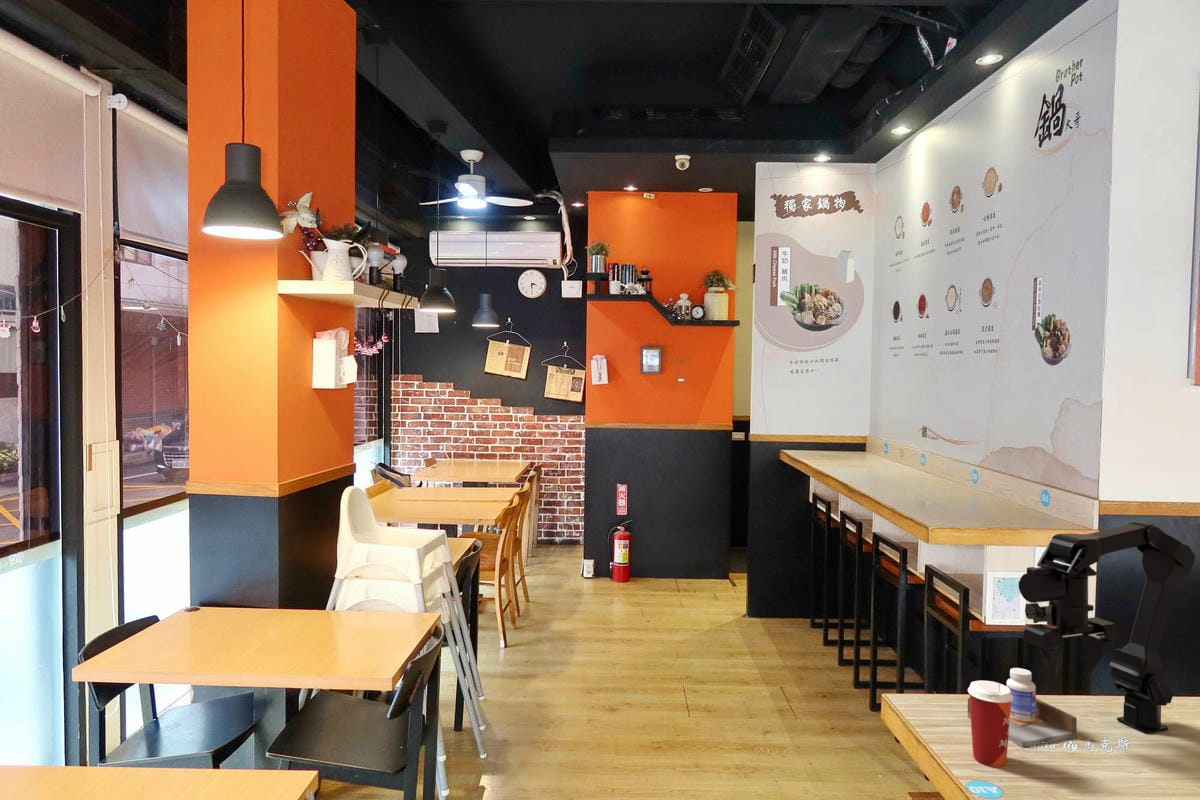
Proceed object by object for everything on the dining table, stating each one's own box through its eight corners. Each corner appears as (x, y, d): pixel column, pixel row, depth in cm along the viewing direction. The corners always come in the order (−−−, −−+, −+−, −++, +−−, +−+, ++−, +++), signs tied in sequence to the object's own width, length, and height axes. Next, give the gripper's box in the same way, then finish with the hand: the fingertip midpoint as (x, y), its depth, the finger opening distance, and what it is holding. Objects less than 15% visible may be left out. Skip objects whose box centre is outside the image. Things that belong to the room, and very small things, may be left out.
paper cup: (1018, 772, 137) (1019, 697, 137) (973, 768, 138) (974, 693, 138) (1004, 751, 145) (1005, 680, 144) (961, 747, 146) (962, 677, 146)
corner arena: (1019, 708, 164) (1019, 690, 164) (1076, 737, 150) (1076, 717, 150) (967, 716, 160) (967, 698, 160) (1021, 747, 146) (1022, 727, 146)
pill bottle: (1038, 724, 154) (1039, 677, 153) (1009, 720, 155) (1010, 674, 155) (1031, 713, 159) (1032, 667, 159) (1003, 709, 160) (1003, 665, 160)
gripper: (1073, 583, 161) (1073, 654, 161) (1002, 591, 156) (1002, 664, 156) (1121, 597, 150) (1121, 674, 150) (1046, 606, 145) (1047, 685, 146)
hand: (1071, 673), depth 151 cm, fingers open, 9 cm apart
